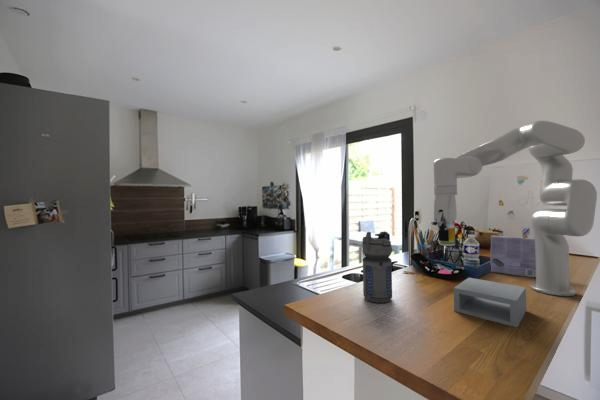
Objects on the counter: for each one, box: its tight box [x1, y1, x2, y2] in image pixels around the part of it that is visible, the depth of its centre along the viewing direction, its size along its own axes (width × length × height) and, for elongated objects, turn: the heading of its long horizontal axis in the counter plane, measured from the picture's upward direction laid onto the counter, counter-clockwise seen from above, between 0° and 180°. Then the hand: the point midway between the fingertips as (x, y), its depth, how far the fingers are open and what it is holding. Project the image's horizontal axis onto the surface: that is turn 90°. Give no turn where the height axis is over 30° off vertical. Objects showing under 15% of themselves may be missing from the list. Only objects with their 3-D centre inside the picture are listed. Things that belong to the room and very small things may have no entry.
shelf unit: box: [453, 277, 527, 328], centre depth 86 cm, size 16×16×8 cm
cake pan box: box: [489, 235, 536, 278], centre depth 126 cm, size 19×5×18 cm, turn 49°
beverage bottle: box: [361, 231, 393, 304], centre depth 99 cm, size 10×13×25 cm
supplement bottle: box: [438, 220, 456, 247], centre depth 100 cm, size 5×5×10 cm
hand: (446, 239), depth 99 cm, fingers closed on supplement bottle, 5 cm apart
